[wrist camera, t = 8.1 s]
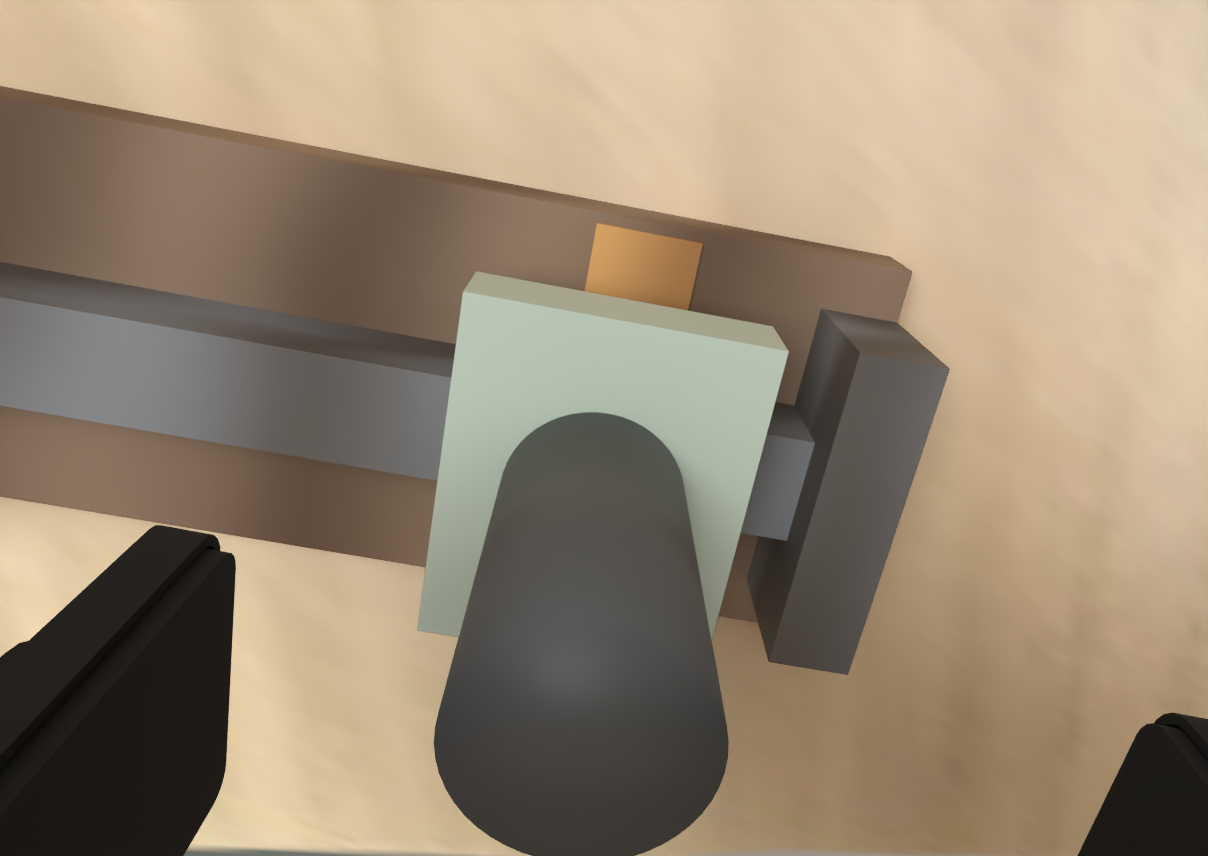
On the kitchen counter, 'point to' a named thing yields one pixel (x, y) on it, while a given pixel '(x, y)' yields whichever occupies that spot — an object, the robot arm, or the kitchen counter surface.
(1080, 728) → the kitchen counter surface
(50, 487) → the rail base
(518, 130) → the kitchen counter surface
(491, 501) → the carriage
